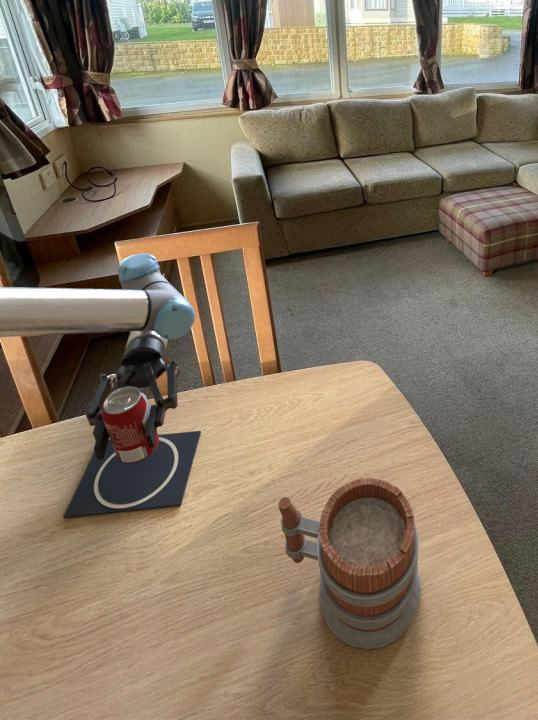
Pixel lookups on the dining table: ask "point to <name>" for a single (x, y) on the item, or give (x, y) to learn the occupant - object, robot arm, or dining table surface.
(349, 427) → the dining table surface
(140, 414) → the soda can
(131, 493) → the mat
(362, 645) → the mug
